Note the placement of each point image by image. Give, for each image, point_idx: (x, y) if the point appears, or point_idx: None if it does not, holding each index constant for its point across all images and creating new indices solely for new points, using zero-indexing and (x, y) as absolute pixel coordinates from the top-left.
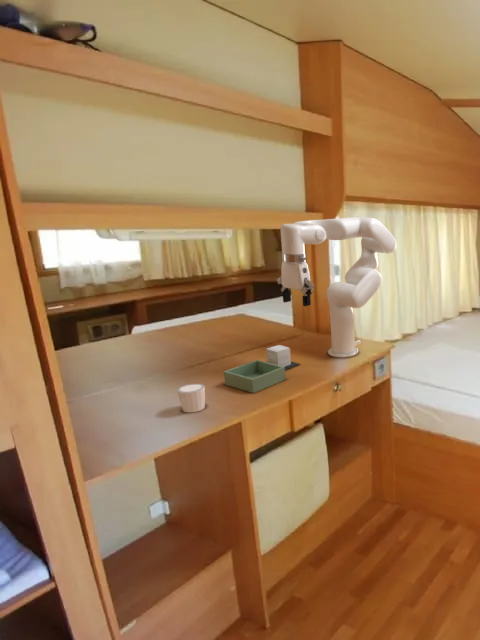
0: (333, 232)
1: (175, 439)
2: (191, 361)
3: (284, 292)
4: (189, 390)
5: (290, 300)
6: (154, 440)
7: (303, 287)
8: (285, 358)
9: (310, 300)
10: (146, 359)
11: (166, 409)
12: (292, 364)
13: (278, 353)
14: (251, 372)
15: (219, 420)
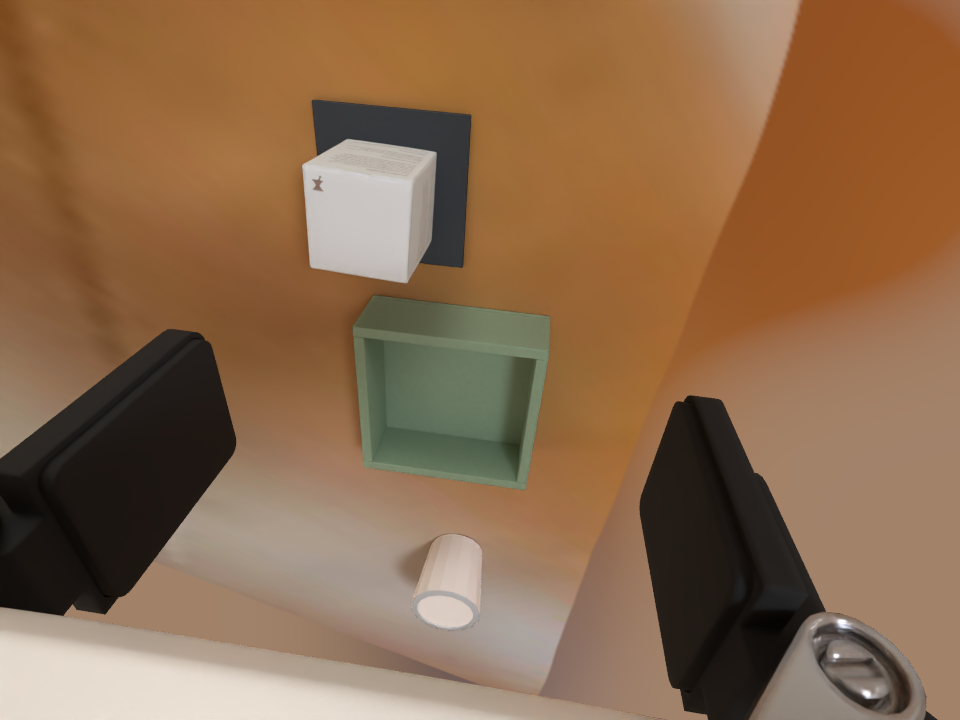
0: None
1: (554, 636)
2: (47, 310)
3: (102, 591)
4: (456, 620)
5: (204, 353)
6: (518, 642)
7: (451, 711)
8: (426, 206)
9: (747, 461)
10: None
11: (402, 565)
12: (442, 145)
13: (412, 269)
14: (380, 343)
15: (575, 576)
